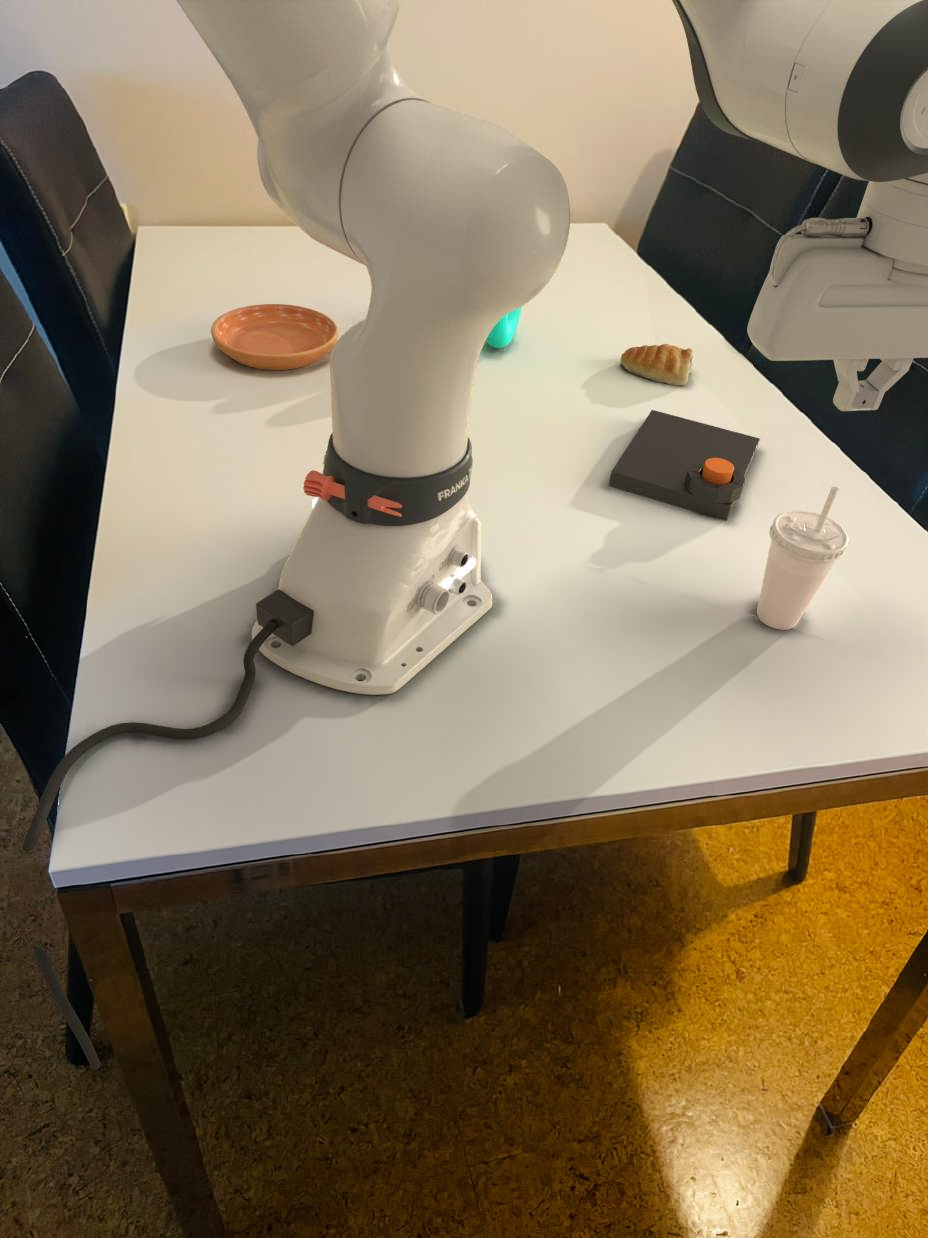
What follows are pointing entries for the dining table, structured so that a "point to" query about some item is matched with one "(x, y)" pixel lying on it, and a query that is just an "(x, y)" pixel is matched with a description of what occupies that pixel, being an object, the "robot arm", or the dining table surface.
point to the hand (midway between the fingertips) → (853, 407)
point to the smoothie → (798, 563)
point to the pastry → (659, 363)
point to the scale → (684, 464)
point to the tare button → (717, 471)
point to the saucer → (274, 335)
